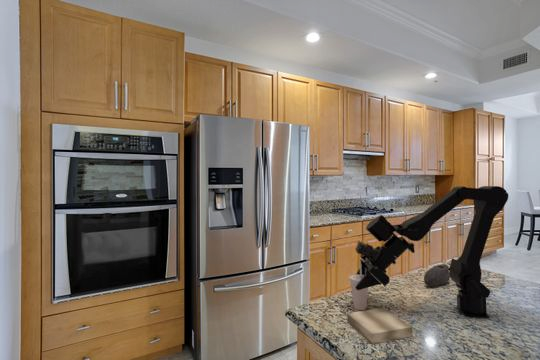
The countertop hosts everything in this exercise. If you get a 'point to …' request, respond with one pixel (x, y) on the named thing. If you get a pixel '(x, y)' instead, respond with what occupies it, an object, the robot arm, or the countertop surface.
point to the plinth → (379, 325)
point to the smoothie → (358, 291)
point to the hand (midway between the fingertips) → (354, 285)
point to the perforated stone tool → (437, 275)
